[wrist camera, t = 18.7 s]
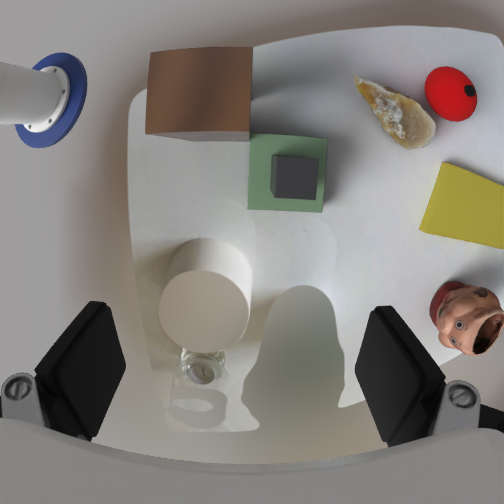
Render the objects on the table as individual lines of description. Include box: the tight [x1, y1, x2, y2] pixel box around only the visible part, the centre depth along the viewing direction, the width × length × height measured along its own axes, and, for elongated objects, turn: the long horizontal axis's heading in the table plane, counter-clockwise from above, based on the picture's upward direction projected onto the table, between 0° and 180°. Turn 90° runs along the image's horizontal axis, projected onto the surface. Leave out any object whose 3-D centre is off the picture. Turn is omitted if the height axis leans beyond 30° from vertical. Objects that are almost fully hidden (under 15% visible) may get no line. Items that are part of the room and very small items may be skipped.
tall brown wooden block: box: [145, 47, 253, 142], centre depth 27 cm, size 8×7×19 cm
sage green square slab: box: [247, 133, 327, 213], centre depth 37 cm, size 10×10×4 cm
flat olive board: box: [419, 162, 504, 249], centre depth 39 cm, size 12×2×24 cm
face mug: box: [430, 281, 504, 356], centre depth 40 cm, size 20×12×14 cm, turn 92°
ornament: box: [425, 66, 477, 122], centre depth 29 cm, size 9×9×10 cm
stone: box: [353, 75, 436, 149], centre depth 32 cm, size 7×6×15 cm
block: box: [270, 155, 319, 200], centre depth 32 cm, size 4×4×7 cm
